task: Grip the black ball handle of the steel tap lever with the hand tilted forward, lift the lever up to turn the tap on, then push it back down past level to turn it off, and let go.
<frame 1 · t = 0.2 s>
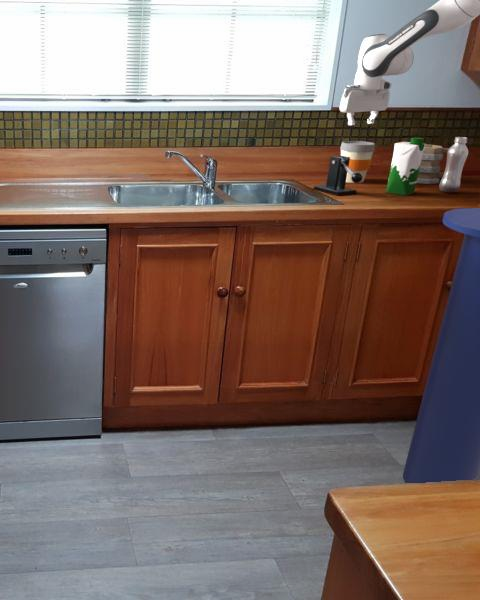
hand: (360, 124, 220), 24 cm above the table, tool pointing down, fingers open, 8 cm apart
reusable coffee cup: (351, 181, 246), on the table
tap lever: (348, 169, 219), point 9 cm above the table, hinge at -25.0°
tap bracket: (334, 191, 227), on the table
plastic bottle: (447, 192, 227), on the table
milk carton: (399, 193, 225), on the table
tankard: (430, 182, 245), on the table
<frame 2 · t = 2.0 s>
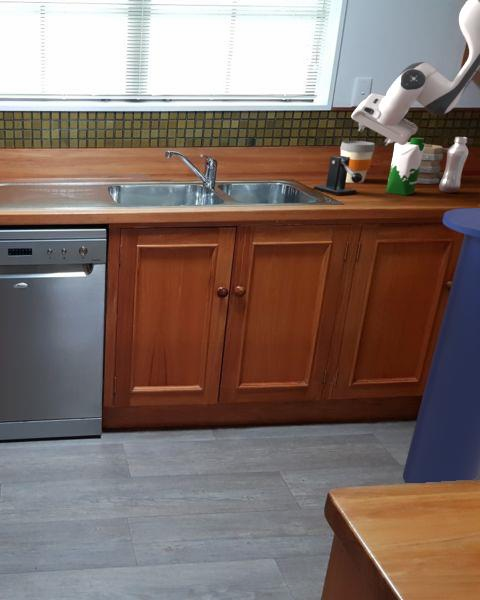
hand: (372, 137, 212), 21 cm above the table, tool tilted 45°, fingers open, 8 cm apart
nothing on the table moved.
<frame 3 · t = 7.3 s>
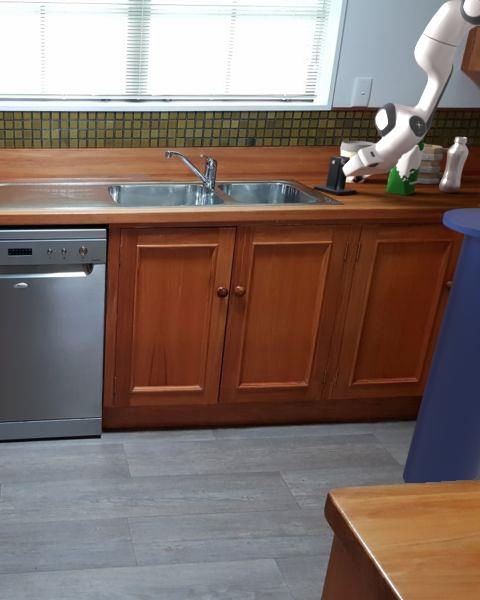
hand: (355, 179, 217), 6 cm above the table, tool tilted 45°, fingers closed on tap lever, 3 cm apart
tap lever: (348, 169, 219), point 9 cm above the table, hinge at -25.0°, touching gripper
everything else where it was.
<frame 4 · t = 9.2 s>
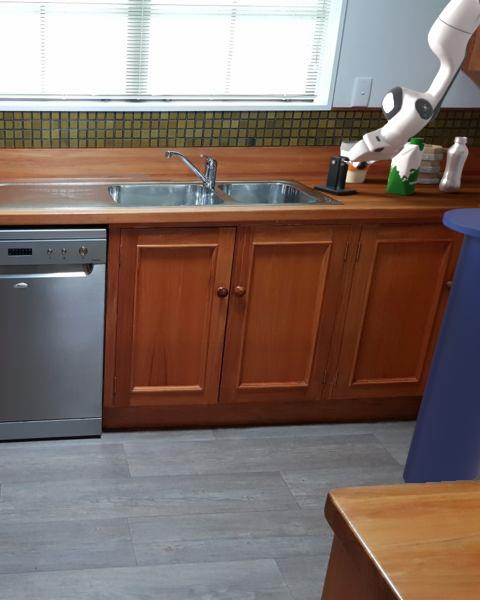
hand: (360, 165, 214), 11 cm above the table, tool tilted 45°, fingers closed on tap lever, 3 cm apart
tap lever: (350, 163, 218), point 11 cm above the table, hinge at 3.2°, touching gripper
everything else where it was.
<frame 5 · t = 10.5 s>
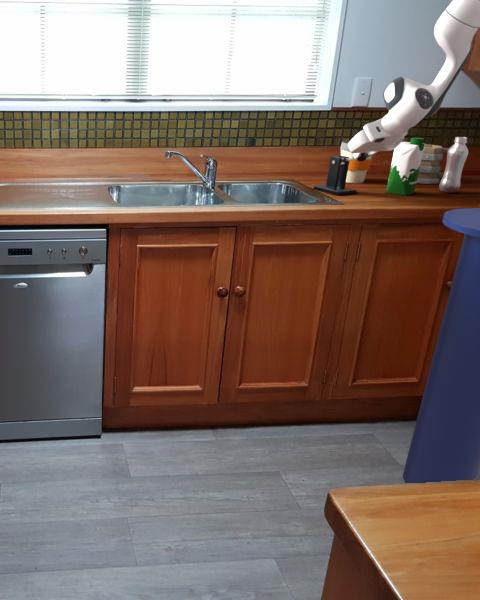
hand: (360, 156, 214), 14 cm above the table, tool tilted 45°, fingers closed on tap lever, 3 cm apart
tap lever: (350, 158, 218), point 13 cm above the table, hinge at 19.6°, touching gripper
everything else where it was.
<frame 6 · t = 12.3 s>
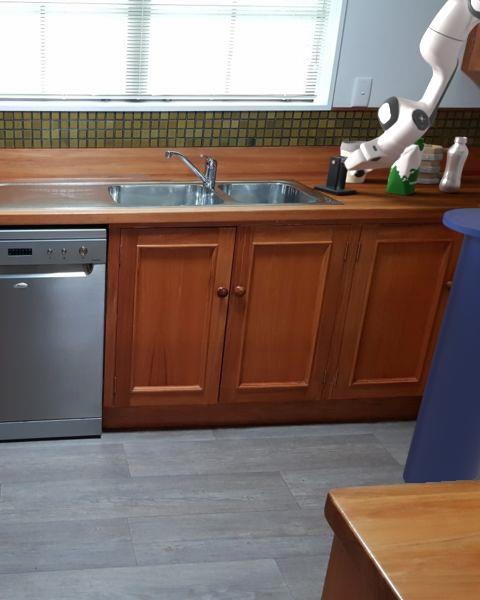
hand: (357, 173, 216), 8 cm above the table, tool tilted 45°, fingers closed on tap lever, 3 cm apart
tap lever: (349, 167, 219), point 10 cm above the table, hinge at -13.0°, touching gripper
everything else where it was.
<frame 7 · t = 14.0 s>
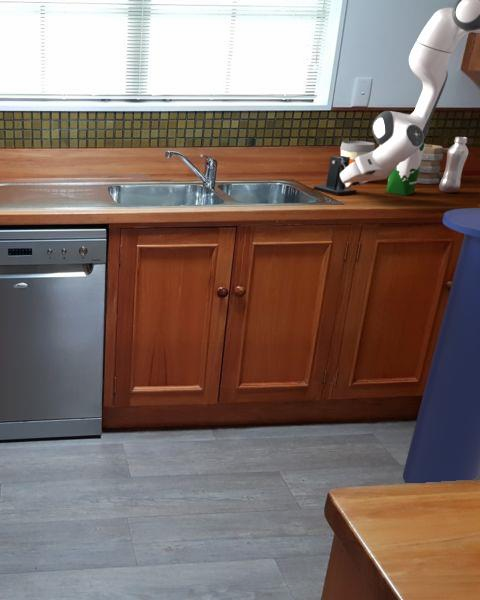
hand: (352, 184, 219), 4 cm above the table, tool tilted 45°, fingers closed on tap lever, 3 cm apart
tap lever: (347, 171, 220), point 8 cm above the table, hinge at -32.8°, touching gripper
everything else where it was.
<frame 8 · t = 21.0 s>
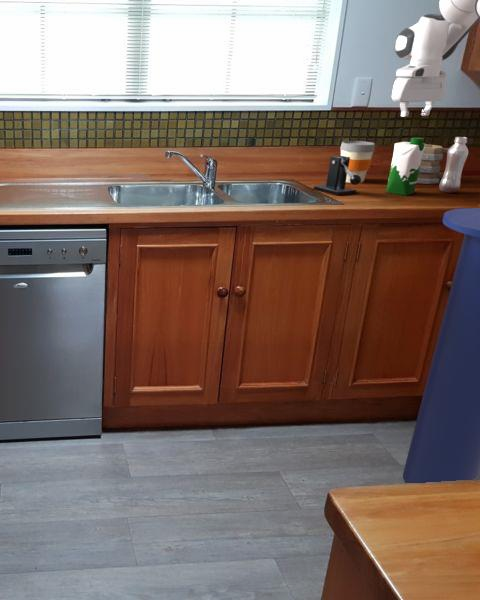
hand: (414, 116, 197), 29 cm above the table, tool pointing down, fingers open, 8 cm apart
tap lever: (347, 170, 220), point 8 cm above the table, hinge at -30.3°
everything else where it was.
at the end: tap lever reached +20° during the clip, -30° at the end; tap lever at -30° (first picture: -25°) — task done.
